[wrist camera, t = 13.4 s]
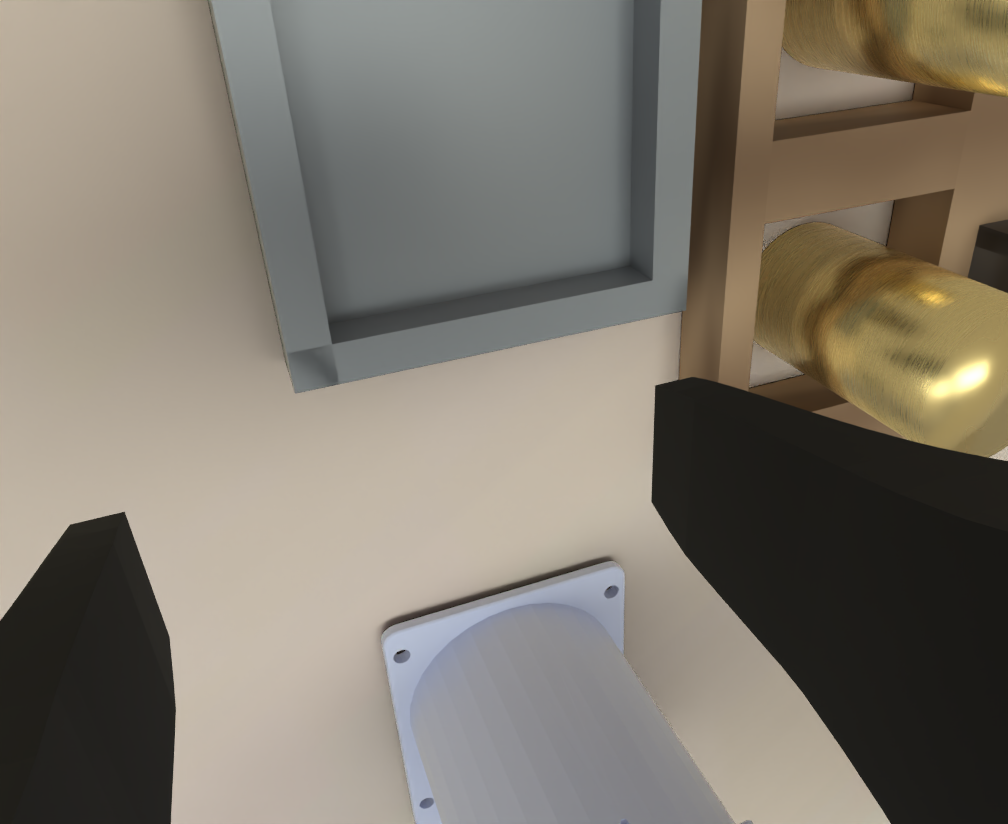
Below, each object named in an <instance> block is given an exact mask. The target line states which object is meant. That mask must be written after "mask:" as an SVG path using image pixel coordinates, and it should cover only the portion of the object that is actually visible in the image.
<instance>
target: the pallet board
mask: <svg viewBox="0 0 1008 824" xmlns="http://www.w3.org/2000/svg"><path fill="white" fill-rule="evenodd" d="M785 8H786V0H702V13H701V32H700V52H699V71H698V91H697V110H696V129H695V149H694V168H693V187H692V207H691V226H690V246H689V265H688V284H687V304H686V311H682V329H681V349H680V370H679V380H681V379H685V378H689V377H697V378H702V379H706V380H710V381H714V382H718V383H722V384H725V385H729V386H732V387H735V388H739V389H742V390H745V391H748V392H751V393H755V394H758V395H761V396H764V397H767V398H770V399H773V400H776V401H779V402H782V403H785V404H789V405H792V406H795V407H798V408H801V409H804V410H807V411H810V412H813V413H816V414H820V415H823V416H826V417H829V418H832V419H836V420H839V421H842V422H846V423H849V424H852V425H856V426H859V427H862V428H866V429H869V430H873V431H877V432H880V433H884V434H888V435H892V436H895V437H899V438H903V439H906V438H905V437H903V436H902V435H900V434H899V433H897V432H895V431H894V430H892V429H891V428H889V427H888V426H886V425H884V424H883V423H881V422H880V421H878V420H877V419H875V418H873V417H872V416H870V415H869V414H867V413H866V412H864V411H862V410H861V409H859V408H858V407H856V406H855V405H853V404H851V403H850V402H848V401H847V400H845V399H844V398H842V397H840V396H839V395H837V394H836V393H834V392H833V391H831V390H829V389H828V388H826V387H825V386H823V385H822V384H820V383H818V382H817V381H815V380H814V379H812V378H811V377H809V376H807V375H802V376H798V377H794V378H790V379H786V380H782V381H778V382H774V383H770V384H766V385H762V386H758V387H754V388H749V379H750V369H751V359H752V348H753V338H754V328H755V317H756V307H757V297H758V286H759V276H760V266H761V255H762V245H763V235H764V224H767V223H772V222H778V221H783V220H788V219H794V218H799V217H805V216H810V215H815V214H821V213H826V212H831V211H837V210H842V209H848V208H853V207H858V206H864V205H869V204H874V203H880V202H885V201H891V200H895V204H894V209H893V215H892V221H891V226H890V232H889V238H888V244H887V247H890V248H892V249H895V250H898V251H900V252H903V253H905V254H908V255H910V256H913V257H916V258H918V259H921V260H923V261H926V262H928V263H931V264H934V265H936V266H939V267H941V268H944V269H947V270H949V271H952V272H954V273H957V274H959V275H962V276H965V277H967V278H970V279H972V280H975V281H977V282H980V283H983V284H985V285H988V286H990V287H993V288H995V289H998V290H1001V291H1003V292H1006V293H1008V98H1007V97H1001V96H994V95H988V94H981V93H975V92H969V91H962V90H956V89H950V88H943V87H937V86H930V85H924V84H918V83H915V89H914V95H913V100H911V101H904V102H897V103H890V104H884V105H877V106H870V107H863V108H856V109H850V110H843V111H836V112H829V113H823V114H816V115H809V116H802V117H795V118H789V119H782V120H775V111H776V101H777V90H778V80H779V70H780V59H781V49H782V39H783V28H784V18H785ZM906 440H907V439H906Z"/></svg>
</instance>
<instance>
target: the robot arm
mask: <svg viewBox="0 0 1008 824" xmlns="http://www.w3.org/2000/svg"><path fill="white" fill-rule="evenodd" d="M652 503H653V505H654V507H655V508H656V510H657V511H658V513H659V515H660V516H661V518H662V520H663V521H664V523H665V525H666V526H667V528H668V529H669V531H670V533H671V534H672V536H673V537H674V539H675V540H676V542H677V543H678V545H679V546H680V548H681V549H682V551H683V552H684V554H685V555H686V556H687V557H688V559H689V560H690V561H691V562H692V563H693V565H694V566H695V567H696V568H697V569H698V571H699V572H700V573H701V574H702V575H703V576H704V578H705V579H706V580H707V581H708V582H709V583H710V585H711V586H712V587H713V588H714V589H715V590H716V592H717V593H718V594H719V595H720V596H721V597H722V599H723V600H724V601H725V602H726V603H727V604H728V605H729V607H730V608H731V609H732V610H733V611H734V612H735V613H736V615H737V616H738V617H739V618H740V619H741V620H742V621H743V623H744V624H745V625H746V626H747V627H748V628H749V629H750V631H751V632H752V633H753V634H754V635H755V636H756V637H757V639H758V640H759V641H760V642H761V643H762V644H763V645H764V647H765V648H766V649H767V650H768V651H769V652H770V653H771V655H772V656H773V657H774V658H775V659H776V660H777V661H778V663H779V664H780V665H781V666H782V667H783V669H784V670H785V671H786V672H787V674H788V675H789V676H790V677H791V679H792V680H793V681H794V682H795V684H796V685H797V686H798V687H799V689H800V690H801V691H802V692H803V694H804V695H805V697H806V698H807V699H808V701H809V702H810V704H811V705H812V707H813V708H814V709H815V711H816V712H817V714H818V715H819V717H820V718H821V719H822V721H823V722H824V724H825V725H826V727H827V728H828V729H829V731H830V732H831V734H832V735H833V736H834V738H835V739H836V741H837V742H838V744H839V745H840V746H841V748H842V749H843V751H844V752H845V754H846V755H847V757H848V758H849V760H850V761H851V763H852V764H853V766H854V767H855V769H856V771H857V772H858V774H859V775H860V777H861V778H862V780H863V781H864V783H865V784H866V786H867V787H868V789H869V790H870V792H871V793H872V795H873V796H874V798H875V799H876V801H877V802H878V804H879V805H880V807H881V809H882V810H883V812H884V813H885V815H886V816H887V818H888V820H889V821H890V823H891V824H1008V461H1003V460H998V459H992V458H987V457H983V456H978V455H973V454H968V453H963V452H958V451H953V450H948V449H943V448H939V447H935V446H930V445H926V444H922V443H918V442H914V441H910V440H906V439H903V438H899V437H895V436H892V435H888V434H884V433H880V432H877V431H873V430H869V429H866V428H862V427H859V426H856V425H852V424H849V423H846V422H842V421H839V420H836V419H832V418H829V417H826V416H823V415H820V414H816V413H813V412H810V411H807V410H804V409H801V408H798V407H795V406H792V405H789V404H785V403H782V402H779V401H776V400H773V399H770V398H767V397H764V396H761V395H758V394H755V393H751V392H748V391H745V390H742V389H739V388H735V387H732V386H729V385H725V384H722V383H718V382H714V381H710V380H706V379H702V378H697V377H689V378H685V379H681V380H677V381H673V382H668V383H664V384H660V385H656V386H655V413H654V443H653V474H652ZM610 586H612V587H611V588H610V589H608V590H606V589H607V588H608V587H610ZM605 590H606V591H605ZM624 592H625V574H624V571H623V569H622V568H621V567H620V565H619V564H618V563H617V562H614V561H608V562H604V563H601V564H597V565H594V566H590V567H587V568H584V569H580V570H577V571H574V572H570V573H567V574H564V575H560V576H557V577H553V578H550V579H547V580H543V581H540V582H537V583H533V584H530V585H526V586H523V587H520V588H516V589H513V590H510V591H506V592H503V593H500V594H496V595H493V596H489V597H486V598H483V599H479V600H476V601H473V602H469V603H466V604H462V605H459V606H456V607H452V608H449V609H446V610H442V611H439V612H436V613H432V614H429V615H425V616H422V617H419V618H415V619H412V620H409V621H405V622H402V623H398V624H395V625H393V626H391V627H389V628H388V629H387V630H385V631H384V633H383V635H382V636H381V644H382V650H383V655H384V660H385V666H386V671H387V677H388V682H389V687H390V693H391V698H392V703H393V709H394V714H395V720H396V725H397V730H398V736H399V741H400V746H401V752H402V757H403V763H404V768H405V773H406V779H407V784H408V789H409V795H410V800H411V805H412V811H413V816H414V820H415V824H735V822H734V821H733V819H732V818H731V816H730V815H729V813H728V812H727V810H726V809H725V807H724V806H723V804H722V803H721V801H720V800H719V798H718V797H717V795H716V794H715V792H714V791H713V789H712V788H711V786H710V785H709V783H708V782H707V780H706V779H705V777H704V776H703V774H702V773H701V771H700V770H699V768H698V767H697V765H696V764H695V762H694V761H693V759H692V758H691V756H690V755H689V753H688V752H687V750H686V749H685V747H684V746H683V744H682V743H681V741H680V740H679V738H678V737H677V735H676V734H675V732H674V731H673V729H672V728H671V726H670V725H669V723H668V722H667V720H666V719H665V717H664V716H663V714H662V713H661V711H660V710H659V708H658V707H657V705H656V704H655V702H654V701H653V699H652V698H651V696H650V695H649V693H648V692H647V690H646V689H645V687H644V686H643V684H642V683H641V681H640V680H639V678H638V677H637V675H636V674H635V672H634V671H633V669H632V668H631V666H630V665H629V663H628V662H627V660H626V659H625V657H624ZM400 650H405V651H404V652H403V653H401V654H396V653H397V652H398V651H400ZM175 715H176V707H175V694H174V681H173V670H172V659H171V649H170V639H169V634H168V632H167V629H166V626H165V623H164V621H163V618H162V615H161V612H160V609H159V607H158V604H157V601H156V598H155V595H154V593H153V590H152V587H151V584H150V582H149V579H148V576H147V573H146V570H145V568H144V565H143V562H142V559H141V557H140V554H139V551H138V548H137V545H136V543H135V540H134V537H133V534H132V531H131V529H130V526H129V523H128V520H127V518H126V515H125V512H122V513H118V514H113V515H109V516H105V517H101V518H97V519H92V520H88V521H84V522H80V523H76V524H71V525H70V526H69V527H68V528H67V530H66V531H65V532H64V534H63V535H62V536H61V538H60V539H59V541H58V542H57V543H56V545H55V546H54V547H53V549H52V550H51V552H50V553H49V554H48V556H47V557H46V558H45V560H44V561H43V563H42V564H41V565H40V567H39V568H38V570H37V571H36V573H35V574H34V575H33V577H32V578H31V580H30V581H29V582H28V584H27V585H26V587H25V588H24V589H23V591H22V592H21V593H20V595H19V596H18V598H17V599H16V600H15V602H14V603H13V605H12V606H11V607H10V609H9V610H8V611H7V613H6V614H5V615H4V617H3V618H2V619H1V621H0V824H171V804H172V784H173V763H174V740H175ZM741 824H753V822H752V821H749V820H747V821H744V822H742V823H741Z"/></svg>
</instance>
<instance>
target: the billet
mask: <svg viewBox="0 0 1008 824" xmlns="http://www.w3.org/2000/svg"><path fill="white" fill-rule="evenodd" d="M782 47H783V48H784V49H785V51H786V52H787V53H788V54H789V55H790V56H791V57H792V58H794V59H795V60H797V61H798V62H800V63H802V64H804V65H807V66H811V67H815V68H822V69H828V70H835V71H841V72H847V73H854V74H860V75H866V76H873V77H879V78H886V79H892V80H898V81H905V82H911V83H918V84H924V85H930V86H937V87H943V88H950V89H956V90H962V91H969V92H975V93H981V94H988V95H994V96H1001V97H1007V98H1008V0H786V8H785V18H784V28H783V39H782Z"/></svg>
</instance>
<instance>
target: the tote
mask: <svg viewBox="0 0 1008 824" xmlns="http://www.w3.org/2000/svg"><path fill="white" fill-rule="evenodd" d="M208 4H209V9H210V13H211V18H212V23H213V27H214V32H215V37H216V41H217V46H218V51H219V55H220V60H221V65H222V69H223V74H224V79H225V83H226V88H227V92H228V97H229V102H230V106H231V111H232V116H233V120H234V125H235V130H236V134H237V139H238V144H239V148H240V153H241V158H242V162H243V167H244V171H245V176H246V181H247V185H248V190H249V195H250V199H251V204H252V209H253V213H254V218H255V223H256V227H257V232H258V237H259V241H260V246H261V250H262V255H263V260H264V264H265V269H266V274H267V278H268V283H269V288H270V292H271V297H272V302H273V306H274V311H275V316H276V320H277V325H278V329H279V334H280V339H281V343H282V348H283V353H284V357H285V362H286V365H287V368H288V372H289V375H290V378H291V381H292V385H293V388H294V391H295V393H300V392H305V391H310V390H314V389H319V388H324V387H328V386H333V385H338V384H342V383H347V382H352V381H357V380H361V379H366V378H371V377H375V376H380V375H385V374H389V373H394V372H399V371H404V370H408V369H413V368H418V367H422V366H427V365H432V364H436V363H441V362H446V361H451V360H455V359H460V358H465V357H469V356H474V355H479V354H484V353H488V352H493V351H498V350H502V349H507V348H512V347H516V346H521V345H526V344H531V343H535V342H540V341H545V340H549V339H554V338H559V337H563V336H568V335H573V334H578V333H582V332H587V331H592V330H596V329H601V328H606V327H610V326H615V325H620V324H625V323H629V322H634V321H639V320H643V319H648V318H653V317H658V316H662V315H667V314H672V313H676V312H681V311H686V304H687V284H688V265H689V246H690V226H691V207H692V187H693V168H694V149H695V129H696V110H697V91H698V71H699V52H700V32H701V13H702V0H208Z"/></svg>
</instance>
